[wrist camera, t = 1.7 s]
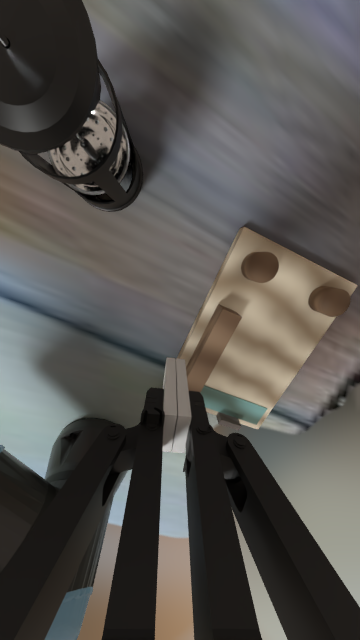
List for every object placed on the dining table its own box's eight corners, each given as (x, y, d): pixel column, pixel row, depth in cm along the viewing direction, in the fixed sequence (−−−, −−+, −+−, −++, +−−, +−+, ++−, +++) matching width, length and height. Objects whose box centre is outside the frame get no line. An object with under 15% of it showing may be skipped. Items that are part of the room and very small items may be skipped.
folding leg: (188, 400, 35) (190, 417, 32) (171, 394, 35) (171, 411, 31) (236, 311, 31) (245, 319, 27) (217, 303, 30) (224, 310, 26)
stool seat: (253, 421, 41) (264, 443, 36) (161, 389, 37) (160, 408, 33) (346, 283, 33) (376, 288, 28) (239, 228, 30) (252, 223, 25)
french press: (159, 191, 28) (111, -49, 6) (104, 229, 29) (-108, 151, 7) (105, 95, 24) (-468, -1284, 3) (46, 143, 26) (-691, -508, 4)
